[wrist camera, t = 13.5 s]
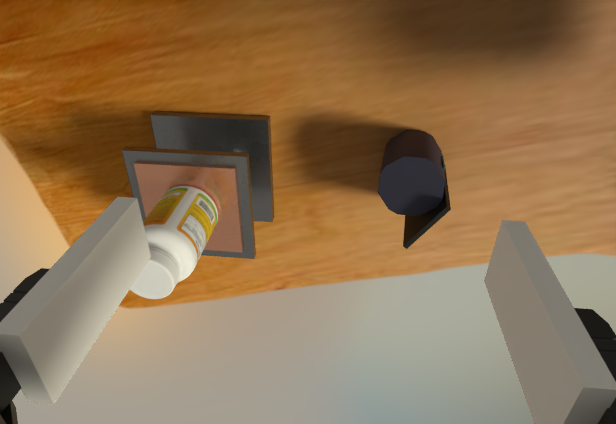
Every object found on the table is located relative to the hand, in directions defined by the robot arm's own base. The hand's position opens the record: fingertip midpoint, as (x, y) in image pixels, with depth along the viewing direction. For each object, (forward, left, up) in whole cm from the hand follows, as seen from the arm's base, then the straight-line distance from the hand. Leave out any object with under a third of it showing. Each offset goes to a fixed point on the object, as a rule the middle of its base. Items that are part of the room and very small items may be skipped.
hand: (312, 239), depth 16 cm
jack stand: (+13, +12, -29) cm, 34 cm away
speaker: (-7, +10, -29) cm, 31 cm away
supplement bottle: (+13, +12, -20) cm, 27 cm away
